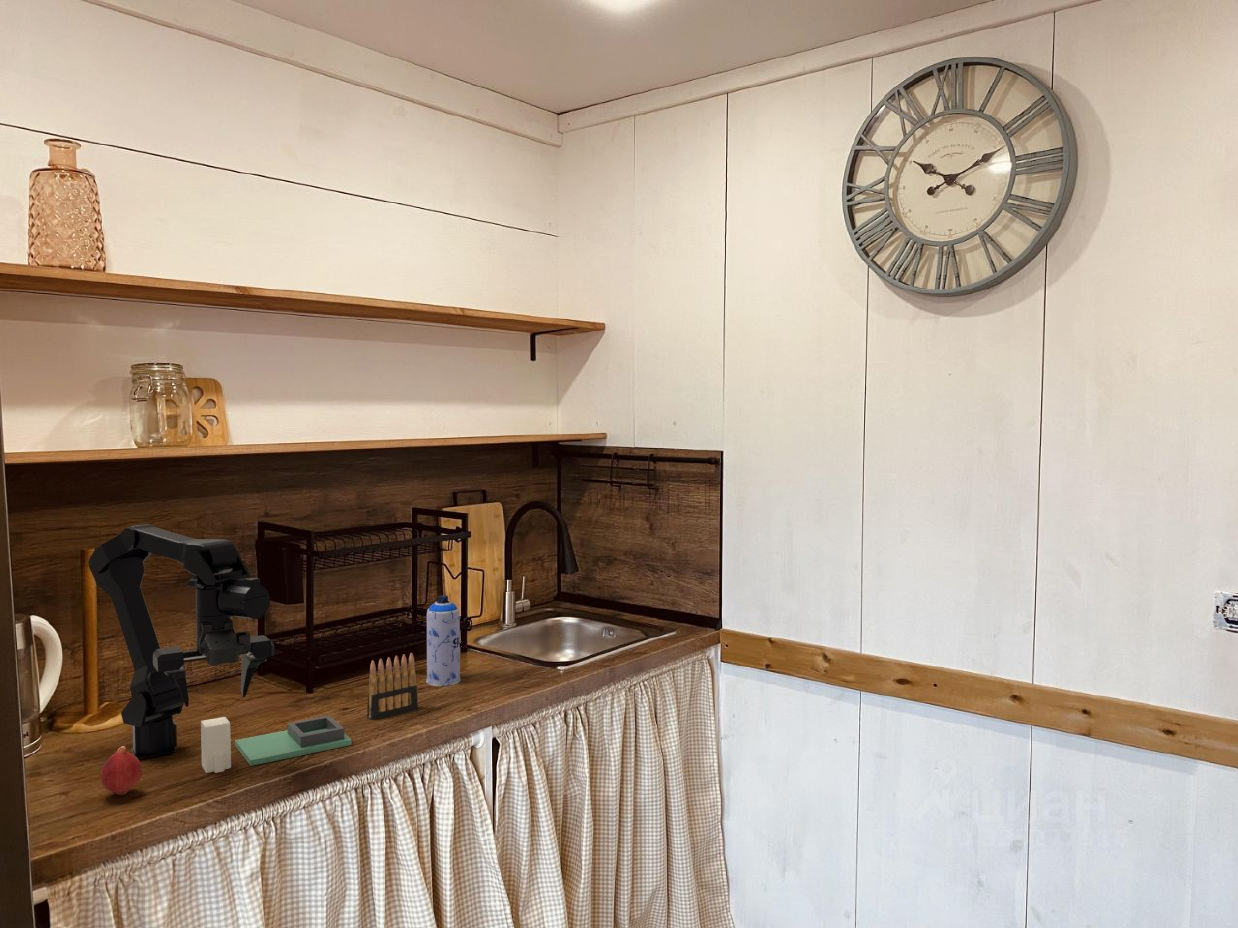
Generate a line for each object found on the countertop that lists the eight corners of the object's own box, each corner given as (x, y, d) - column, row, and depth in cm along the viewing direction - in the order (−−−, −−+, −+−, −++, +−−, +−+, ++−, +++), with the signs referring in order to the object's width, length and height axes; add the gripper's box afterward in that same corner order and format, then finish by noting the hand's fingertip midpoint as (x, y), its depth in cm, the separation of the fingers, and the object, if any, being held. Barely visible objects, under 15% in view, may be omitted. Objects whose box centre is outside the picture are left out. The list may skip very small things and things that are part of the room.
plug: (207, 774, 154) (206, 728, 153) (198, 760, 160) (198, 716, 159) (232, 769, 156) (231, 724, 156) (223, 756, 162) (222, 712, 162)
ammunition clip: (413, 706, 190) (413, 650, 190) (418, 708, 189) (417, 652, 188) (366, 717, 183) (366, 659, 182) (371, 720, 182) (370, 661, 181)
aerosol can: (454, 686, 204) (454, 600, 203) (421, 685, 205) (421, 599, 204) (464, 677, 212) (464, 593, 211) (432, 675, 213) (432, 592, 212)
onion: (103, 805, 141) (102, 755, 141) (99, 793, 146) (98, 744, 145) (144, 796, 145) (143, 748, 144) (139, 784, 149) (138, 737, 149)
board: (250, 765, 158) (250, 749, 157) (235, 745, 167) (234, 729, 167) (351, 744, 168) (351, 729, 168) (331, 726, 178) (331, 711, 178)
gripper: (162, 629, 144) (164, 724, 145) (282, 615, 155) (283, 703, 156) (151, 616, 153) (153, 706, 154) (265, 603, 164) (266, 687, 165)
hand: (215, 701), depth 157 cm, fingers open, 9 cm apart
